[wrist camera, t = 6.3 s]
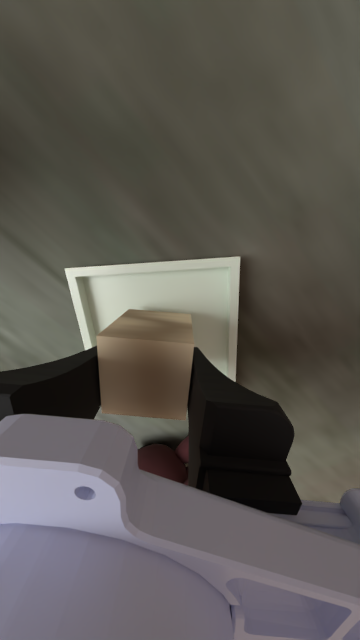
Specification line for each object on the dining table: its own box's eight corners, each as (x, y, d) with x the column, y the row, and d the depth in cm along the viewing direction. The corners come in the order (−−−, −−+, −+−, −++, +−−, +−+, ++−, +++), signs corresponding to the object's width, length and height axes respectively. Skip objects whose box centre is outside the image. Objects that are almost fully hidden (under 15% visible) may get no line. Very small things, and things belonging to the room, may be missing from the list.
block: (129, 363, 14) (101, 413, 10) (129, 308, 13) (96, 335, 8) (185, 367, 14) (185, 420, 10) (190, 314, 13) (194, 344, 8)
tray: (106, 395, 17) (99, 406, 16) (77, 267, 14) (64, 268, 12) (230, 390, 17) (234, 402, 15) (234, 257, 13) (240, 256, 12)
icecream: (96, 581, 16) (248, 520, 15) (26, 578, 12) (218, 498, 11) (110, 484, 22) (218, 435, 21) (65, 463, 18) (193, 402, 17)
